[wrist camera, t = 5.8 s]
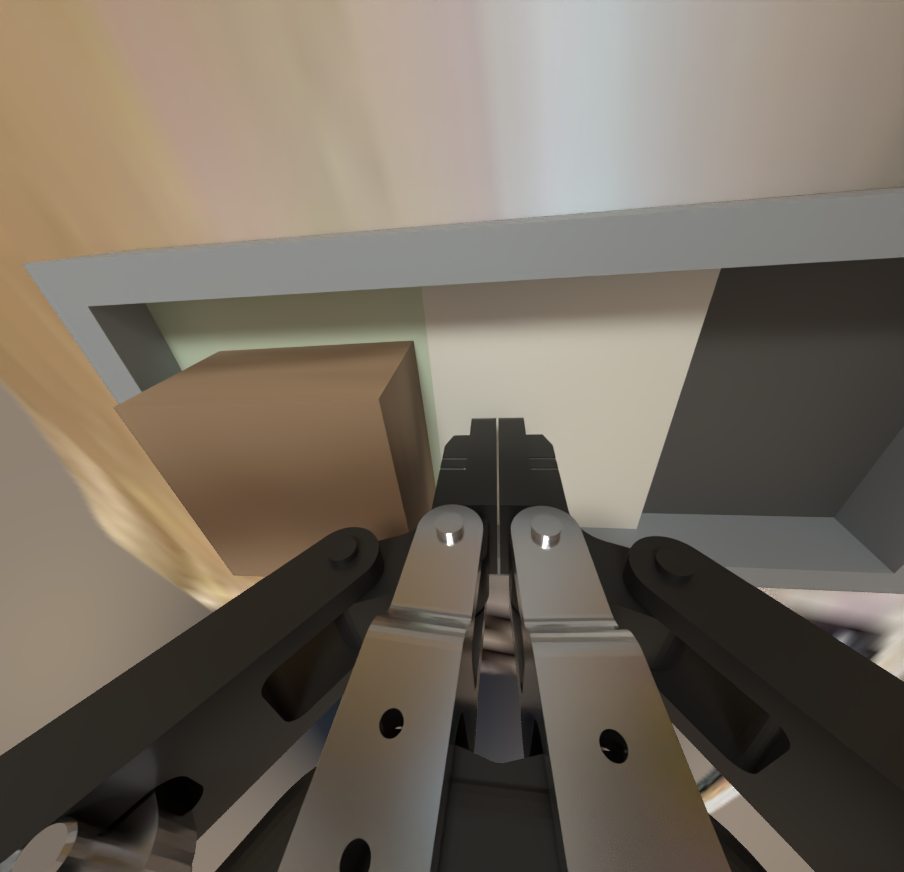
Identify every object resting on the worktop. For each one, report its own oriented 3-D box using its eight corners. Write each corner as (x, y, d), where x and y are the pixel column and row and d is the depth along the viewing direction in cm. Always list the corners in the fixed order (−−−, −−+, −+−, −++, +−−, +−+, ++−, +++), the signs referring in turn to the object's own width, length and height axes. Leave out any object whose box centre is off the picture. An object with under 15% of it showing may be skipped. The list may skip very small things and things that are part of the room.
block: (219, 350, 10) (113, 407, 7) (413, 340, 10) (378, 398, 7) (288, 496, 14) (233, 575, 11) (437, 498, 13) (420, 583, 10)
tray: (119, 251, 10) (22, 263, 8) (1144, 167, 7) (1415, 151, 5) (261, 516, 16) (227, 562, 14) (844, 532, 13) (910, 593, 11)
